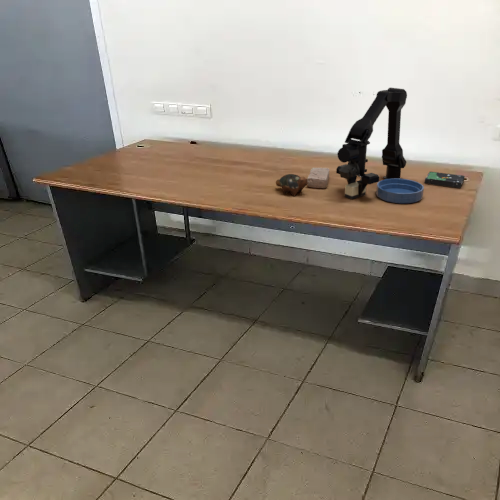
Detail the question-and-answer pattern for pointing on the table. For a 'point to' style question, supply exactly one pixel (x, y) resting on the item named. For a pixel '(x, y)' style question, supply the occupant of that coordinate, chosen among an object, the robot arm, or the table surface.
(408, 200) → the bowl
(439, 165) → the table surface
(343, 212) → the table surface
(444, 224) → the table surface
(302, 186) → the decorative turtle
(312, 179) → the brick
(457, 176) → the disk drive
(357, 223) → the table surface
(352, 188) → the eraser
